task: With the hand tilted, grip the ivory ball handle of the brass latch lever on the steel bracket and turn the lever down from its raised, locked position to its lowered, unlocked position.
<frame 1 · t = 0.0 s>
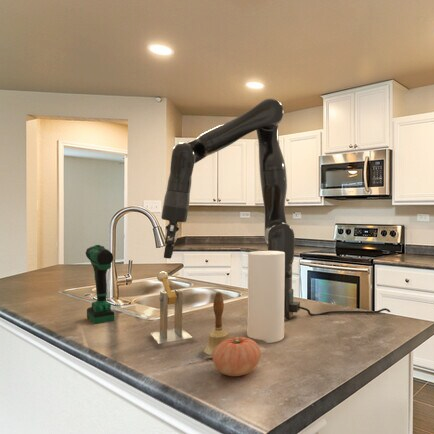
hand: (168, 256, 121), 22 cm above the counter, tool pointing down, fingers open, 8 cm apart
tall pillar cylinder: (265, 337, 112), on the counter
hand bell: (218, 354, 99), on the counter
pumpkin: (236, 373, 87), on the counter
lever: (166, 286, 113), point 14 cm above the counter, hinge at 25.0°
power drill: (95, 317, 132), on the counter
bracket: (170, 339, 109), on the counter
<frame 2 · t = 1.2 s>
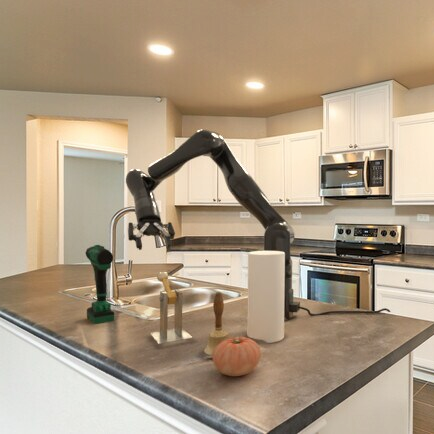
hand: (154, 247, 126), 25 cm above the counter, tool tilted 45°, fingers open, 8 cm apart
nothing on the counter moved.
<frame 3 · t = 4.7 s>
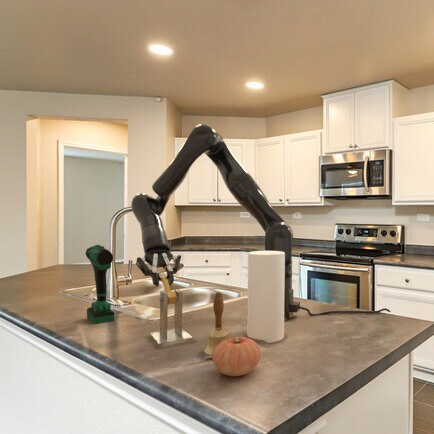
hand: (164, 284, 116), 15 cm above the counter, tool tilted 45°, fingers closed on lever, 3 cm apart
lever: (166, 286, 113), point 14 cm above the counter, hinge at 25.0°, touching gripper
everything else where it was.
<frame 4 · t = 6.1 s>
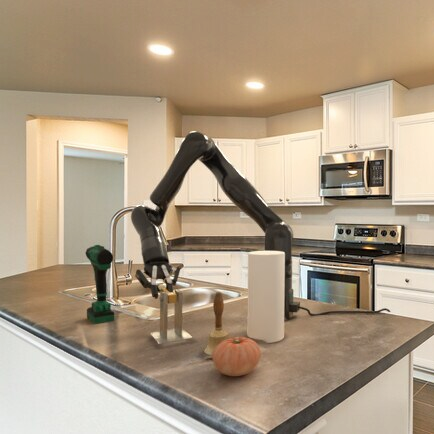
hand: (163, 296, 116), 11 cm above the counter, tool tilted 45°, fingers closed on lever, 3 cm apart
lever: (166, 292, 114), point 12 cm above the counter, hinge at 4.7°, touching gripper
everything else where it was.
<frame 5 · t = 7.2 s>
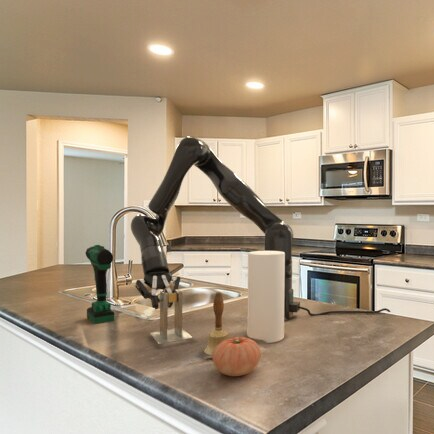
hand: (163, 306, 116), 8 cm above the counter, tool tilted 45°, fingers closed on lever, 3 cm apart
lever: (166, 297, 114), point 11 cm above the counter, hinge at -11.2°, touching gripper
everything else where it was.
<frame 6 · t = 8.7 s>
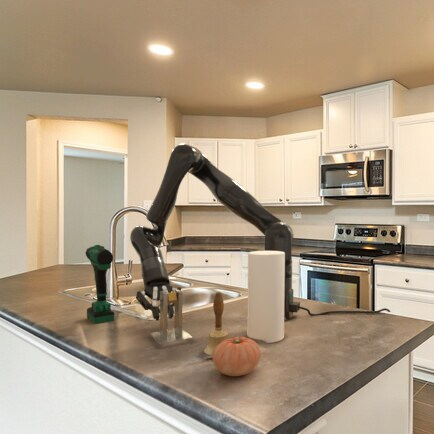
hand: (164, 317, 115), 4 cm above the counter, tool tilted 45°, fingers closed on lever, 3 cm apart
lever: (166, 303, 113), point 9 cm above the counter, hinge at -28.3°, touching gripper
everything else where it was.
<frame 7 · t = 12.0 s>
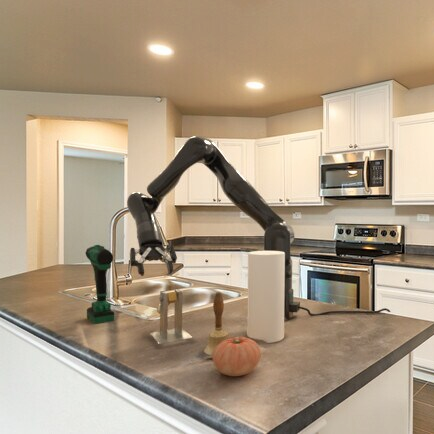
hand: (156, 273, 125), 16 cm above the counter, tool tilted 45°, fingers open, 8 cm apart
lever: (166, 303, 113), point 9 cm above the counter, hinge at -28.9°
everything else where it was.
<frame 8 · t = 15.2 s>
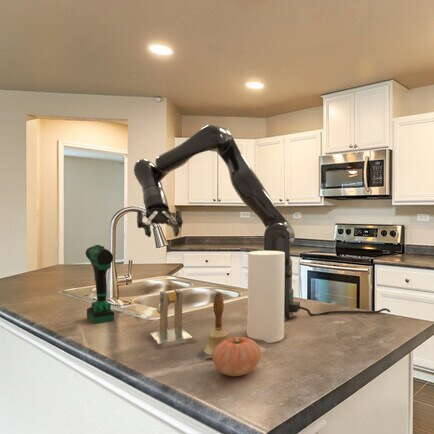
hand: (163, 235, 128), 29 cm above the counter, tool tilted 45°, fingers open, 8 cm apart
nothing on the counter moved.
at the end: lever at -29° (first picture: +25°); lever reached +25° during the clip, -29° at the end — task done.
